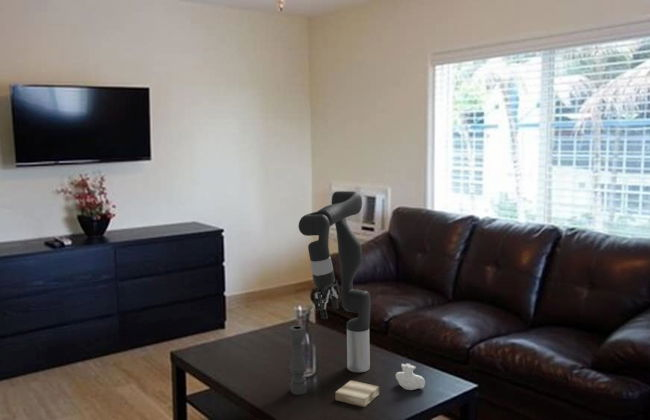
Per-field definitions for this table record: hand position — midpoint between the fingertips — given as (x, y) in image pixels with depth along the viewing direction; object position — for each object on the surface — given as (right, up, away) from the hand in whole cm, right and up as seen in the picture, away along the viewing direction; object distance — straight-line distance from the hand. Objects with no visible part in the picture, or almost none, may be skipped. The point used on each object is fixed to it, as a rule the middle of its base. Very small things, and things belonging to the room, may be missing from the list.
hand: (330, 313), depth 210 cm
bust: (+30, -32, +17) cm, 47 cm away
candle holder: (-12, -33, +16) cm, 38 cm away
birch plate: (+10, -33, +10) cm, 36 cm away
